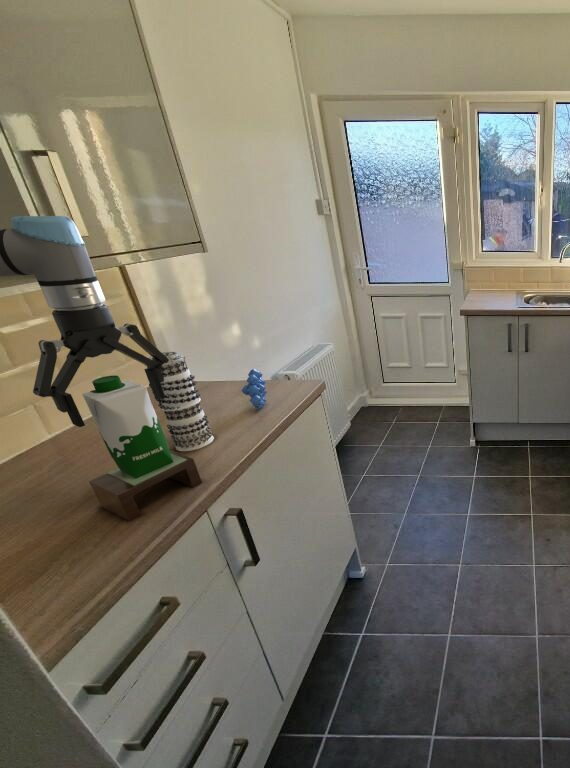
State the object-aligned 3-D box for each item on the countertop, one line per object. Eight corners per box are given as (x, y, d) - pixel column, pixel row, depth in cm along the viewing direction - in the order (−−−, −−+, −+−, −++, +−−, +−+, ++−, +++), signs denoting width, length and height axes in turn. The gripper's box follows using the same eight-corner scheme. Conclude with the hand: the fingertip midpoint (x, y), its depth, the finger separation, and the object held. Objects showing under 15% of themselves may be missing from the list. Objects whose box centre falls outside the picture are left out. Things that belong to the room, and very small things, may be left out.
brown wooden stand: (101, 506, 88) (88, 480, 85) (173, 471, 99) (164, 447, 97) (129, 521, 83) (116, 494, 81) (202, 482, 95) (192, 457, 92)
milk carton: (160, 450, 95) (127, 370, 87) (181, 461, 91) (148, 377, 83) (112, 470, 88) (71, 384, 80) (132, 482, 84) (91, 393, 76)
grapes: (250, 400, 135) (240, 366, 131) (273, 397, 137) (264, 363, 133) (242, 416, 125) (230, 379, 120) (267, 412, 127) (257, 376, 122)
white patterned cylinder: (172, 456, 105) (135, 364, 95) (175, 440, 112) (141, 353, 102) (215, 445, 110) (184, 356, 100) (215, 431, 117) (186, 346, 107)
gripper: (-13, 324, 64) (47, 443, 72) (167, 296, 85) (198, 390, 93) (-33, 319, 67) (28, 434, 75) (146, 293, 88) (178, 385, 96)
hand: (122, 410), depth 84 cm, fingers open, 13 cm apart
